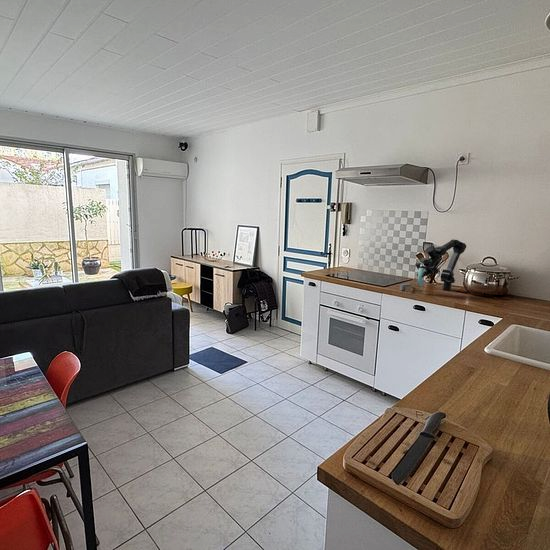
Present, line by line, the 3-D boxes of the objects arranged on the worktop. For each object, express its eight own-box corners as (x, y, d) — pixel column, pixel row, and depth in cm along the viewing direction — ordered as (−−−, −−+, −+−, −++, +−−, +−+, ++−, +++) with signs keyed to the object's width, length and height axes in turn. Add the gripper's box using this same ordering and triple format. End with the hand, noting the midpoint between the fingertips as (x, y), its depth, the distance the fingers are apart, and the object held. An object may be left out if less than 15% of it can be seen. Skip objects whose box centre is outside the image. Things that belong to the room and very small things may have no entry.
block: (419, 291, 267) (419, 287, 266) (411, 292, 262) (411, 289, 262) (412, 290, 272) (413, 286, 271) (405, 291, 267) (405, 287, 267)
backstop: (410, 289, 274) (410, 283, 273) (401, 290, 269) (402, 284, 268) (408, 288, 276) (408, 283, 275) (399, 290, 271) (400, 284, 270)
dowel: (417, 284, 263) (419, 267, 261) (423, 284, 261) (425, 268, 259) (416, 285, 260) (418, 268, 258) (422, 285, 258) (424, 269, 256)
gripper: (418, 252, 266) (405, 267, 264) (437, 255, 249) (423, 271, 247) (425, 262, 271) (412, 276, 269) (444, 265, 254) (431, 281, 252)
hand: (419, 276), depth 259 cm, fingers closed on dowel, 4 cm apart
